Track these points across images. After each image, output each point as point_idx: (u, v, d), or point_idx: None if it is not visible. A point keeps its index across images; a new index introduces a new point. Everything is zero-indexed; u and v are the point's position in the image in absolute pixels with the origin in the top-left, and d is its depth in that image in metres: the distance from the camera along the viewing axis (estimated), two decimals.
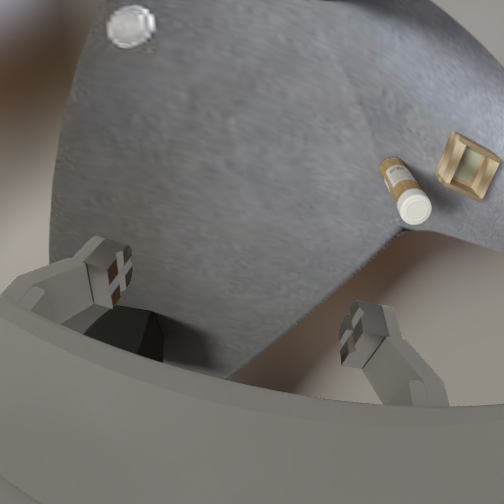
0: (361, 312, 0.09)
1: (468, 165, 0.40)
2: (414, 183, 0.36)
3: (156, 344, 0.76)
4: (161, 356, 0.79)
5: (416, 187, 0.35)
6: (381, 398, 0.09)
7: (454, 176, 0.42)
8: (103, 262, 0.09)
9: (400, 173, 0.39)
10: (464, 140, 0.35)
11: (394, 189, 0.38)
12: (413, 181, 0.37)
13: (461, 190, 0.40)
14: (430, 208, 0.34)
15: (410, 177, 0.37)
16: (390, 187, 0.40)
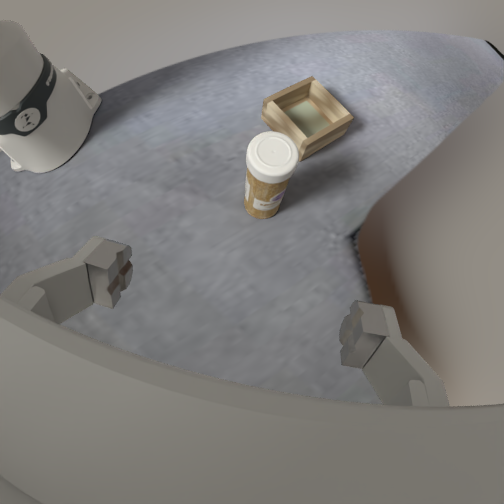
0: (361, 312, 0.09)
1: (309, 118, 0.40)
2: None
3: None
4: None
5: None
6: (381, 398, 0.09)
7: None
8: (103, 262, 0.09)
9: None
10: (265, 99, 0.36)
11: (251, 184, 0.29)
12: None
13: (324, 129, 0.36)
14: (282, 134, 0.26)
15: None
16: (254, 194, 0.31)
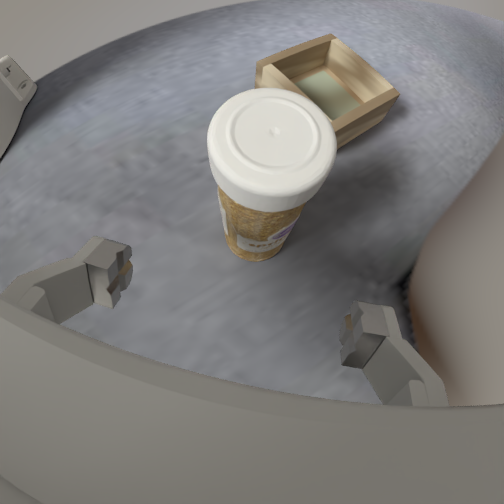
0: (361, 312, 0.09)
1: (328, 95, 0.24)
2: None
3: None
4: None
5: None
6: (381, 398, 0.09)
7: None
8: (103, 262, 0.09)
9: None
10: (260, 62, 0.21)
11: (227, 209, 0.14)
12: None
13: (359, 109, 0.20)
14: (295, 94, 0.10)
15: None
16: (235, 228, 0.16)
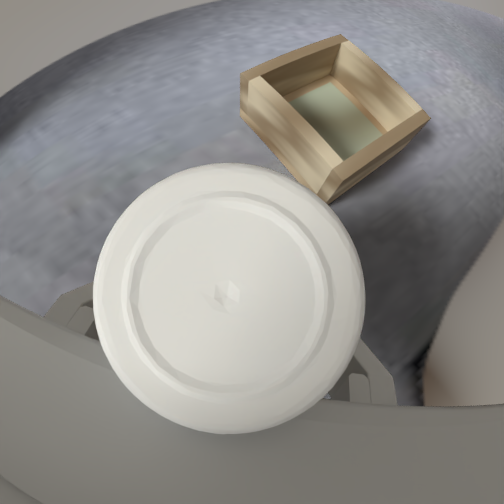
0: None
1: (337, 117, 0.19)
2: None
3: None
4: None
5: None
6: (330, 393, 0.09)
7: None
8: None
9: None
10: (245, 74, 0.16)
11: None
12: None
13: (379, 142, 0.15)
14: (281, 182, 0.05)
15: None
16: None
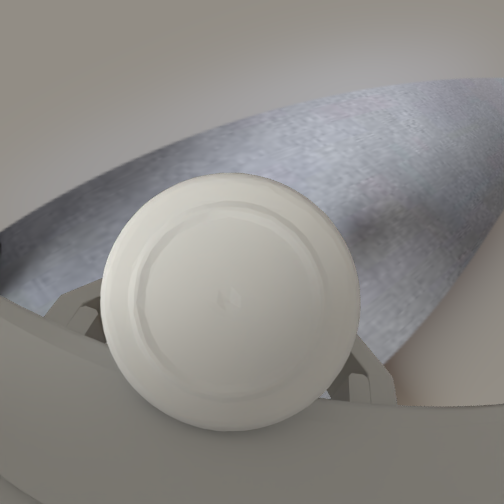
0: None
1: None
2: None
3: None
4: None
5: None
6: (330, 393, 0.09)
7: None
8: None
9: None
10: None
11: None
12: None
13: None
14: (281, 192, 0.05)
15: None
16: None
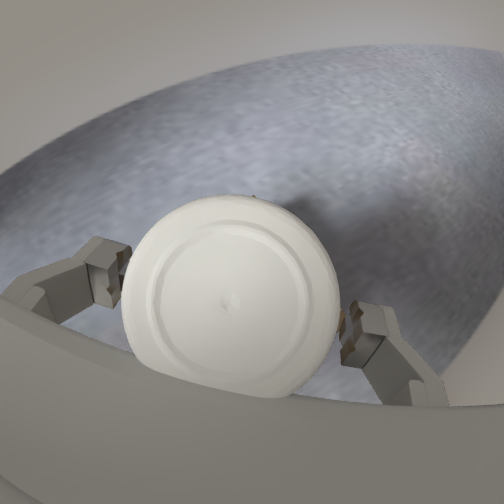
0: (361, 312, 0.09)
1: None
2: None
3: None
4: None
5: None
6: (381, 398, 0.09)
7: None
8: (103, 262, 0.09)
9: None
10: None
11: None
12: None
13: None
14: (273, 212, 0.06)
15: None
16: None
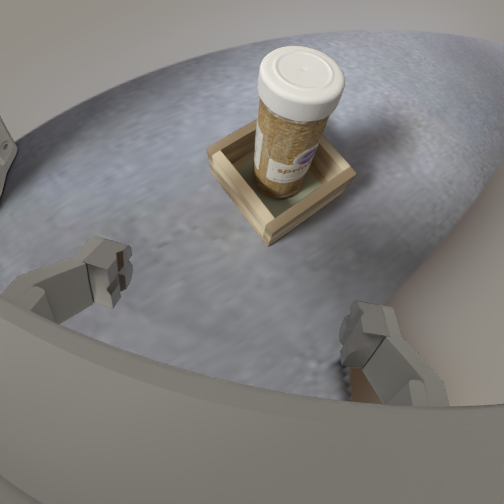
0: (361, 312, 0.09)
1: None
2: None
3: None
4: None
5: None
6: (381, 398, 0.09)
7: None
8: (103, 262, 0.09)
9: None
10: (209, 149, 0.23)
11: (265, 132, 0.18)
12: None
13: (306, 200, 0.23)
14: (316, 50, 0.14)
15: None
16: (268, 152, 0.19)
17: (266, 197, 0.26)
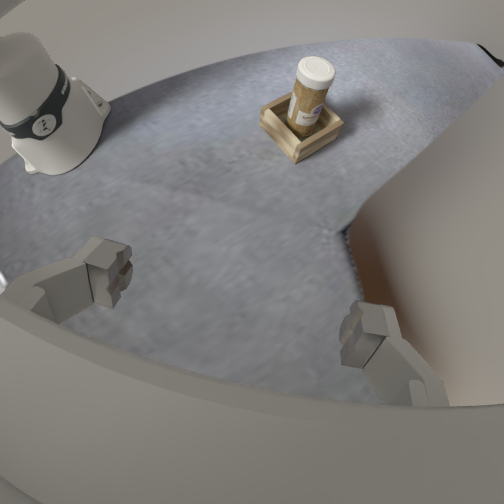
0: (361, 312, 0.09)
1: None
2: None
3: None
4: None
5: None
6: (381, 398, 0.09)
7: None
8: (103, 262, 0.09)
9: None
10: (263, 107, 0.40)
11: (298, 96, 0.35)
12: None
13: (317, 134, 0.40)
14: (322, 58, 0.31)
15: None
16: (298, 106, 0.36)
17: None
